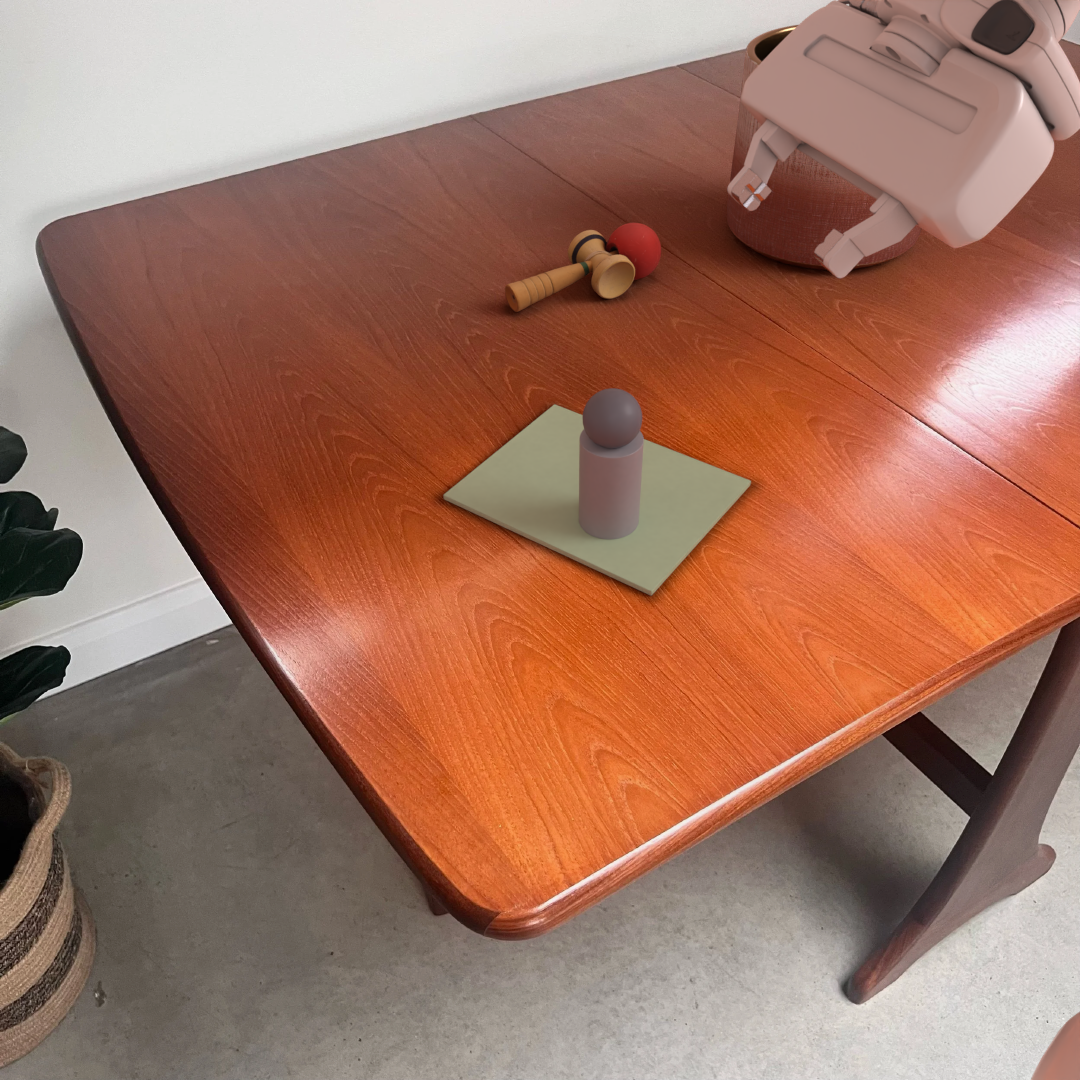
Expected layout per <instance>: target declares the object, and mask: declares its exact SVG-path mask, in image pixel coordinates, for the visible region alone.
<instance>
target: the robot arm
mask: <svg viewBox="0 0 1080 1080" xmlns="http://www.w3.org/2000/svg"><path fill="white" fill-rule="evenodd" d="M1079 12H1080V0H832V1H830V2H829V3H827V4H826V5H825V6H823V7H821V8H819V9H816V10H815V11H813V13H810V14H809V15H808V16H807V17H806V18H805V19H803V20H802V21H801V22H800V23H799V24H797V25H798V26H797V27H796V28H795V29H794V30H793V31H792V32H791V33H790V34H789V35H788V36H787V37H786V38H785V39H784V40H783V41H782V42H781V43H780V44H779V45H778V46H777V47H776V48H775V49H774V50H773V51H772V52H771V53H770V54H769V55H768V56H767V57H766V58H765V59H764V60H763V61H762V62H761V64H760V65H759V66H758V67H757V68H756V69H755V70H754V71H753V72H752V74H751V75H750V76H749V77H748V79H747V80H746V82H745V85H744V88H743V92H742V96H741V95H740V96H741V101H742V103H743V104H744V106H745V107H746V108H747V109H748V110H749V112H750V113H751V114H752V115H753V116H754V118H755V119H756V120H757V121H758V122H759V123H760V124H761V125H762V126H761V127H760V128H759V129H758V130H757V132H756V133H755V134H754V135H753V138H752V141H751V144H750V147H749V151H748V154H747V157H746V160H745V163H744V165H745V166H744V167H743V168H742V169H741V171H740V172H739V173H738V174H737V175H736V176H735V178H734V179H733V180H732V181H731V182H730V181H729V183H728V186H727V189H726V191H727V193H729V194H730V195H731V196H732V197H733V198H734V199H735V200H736V201H737V202H738V203H739V204H740V205H742V206H743V207H744V208H746V209H747V210H749V211H754V210H756V209H757V208H758V207H759V205H760V202H761V201H763V200H765V199H766V197H767V196H768V195H769V194H770V193H771V192H772V191H771V189H770V188H769V187H768V186H767V185H766V184H767V182H768V180H769V178H770V175H771V173H772V171H773V169H774V166H775V164H776V162H777V160H778V159H779V160H780V161H782V162H784V161H785V160H786V159H787V158H788V157H789V156H790V154H791V153H792V152H793V151H794V150H795V149H797V150H799V151H800V152H802V153H804V154H805V155H807V156H808V157H810V158H812V159H813V160H815V161H816V162H818V163H819V164H821V165H823V166H824V167H826V168H827V169H829V170H830V171H832V172H834V173H835V174H837V175H838V176H840V177H841V178H843V179H845V180H846V181H848V182H849V183H851V184H853V185H854V186H856V187H857V188H859V189H860V190H862V191H864V192H865V193H867V194H868V195H870V196H871V197H873V198H875V199H876V202H875V203H874V204H873V205H872V206H871V207H870V211H871V212H872V214H873V216H871V217H870V218H868V219H866V220H864V221H863V222H861V223H859V224H858V225H856V226H854V227H853V228H851V229H849V230H848V231H846V232H844V233H843V234H844V235H843V234H842V233H840V232H839V231H837V230H836V229H833V230H832V231H831V232H830V233H829V234H828V235H827V236H826V237H825V240H824V242H823V243H821V244H819V245H818V246H817V248H816V249H815V251H814V257H815V258H816V260H817V261H818V262H819V263H820V264H821V265H822V266H823V267H824V268H826V269H827V271H828V273H831V274H832V275H833V276H834V277H836V278H837V279H843V278H845V277H846V276H848V274H849V273H851V271H852V270H854V269H853V268H854V267H855V266H856V264H857V263H858V262H859V261H860V260H861V259H862V258H863V257H864V256H866V257H867V256H869V255H871V254H873V253H875V252H878V251H880V250H882V249H884V248H887V247H889V246H891V245H893V244H895V243H898V242H900V241H901V240H902V239H903V238H904V237H905V236H906V235H907V234H908V233H909V232H910V231H911V230H912V229H913V228H914V226H915V225H917V226H919V227H920V228H922V229H921V230H923V231H925V232H926V233H928V234H930V235H931V236H933V237H935V239H937V240H939V241H941V242H942V243H944V244H945V245H947V246H949V247H950V248H953V249H958V248H961V247H965V246H967V245H971V244H972V243H975V242H978V241H980V240H982V239H983V238H985V237H986V236H987V235H988V234H989V233H990V232H991V231H993V229H995V228H996V227H997V226H998V225H999V224H1000V222H1001V221H1003V219H1004V218H1005V217H1006V216H1008V214H1009V213H1010V212H1011V211H1012V210H1013V209H1014V208H1015V206H1017V204H1018V203H1019V202H1020V201H1021V200H1022V199H1023V198H1024V196H1025V195H1027V193H1028V192H1029V191H1030V189H1031V188H1032V187H1033V186H1034V185H1035V184H1036V182H1037V181H1038V180H1039V179H1040V177H1041V176H1042V175H1043V173H1044V172H1045V171H1046V170H1047V168H1048V166H1049V164H1050V162H1051V160H1052V158H1053V155H1054V152H1055V141H1065V140H1067V139H1069V138H1071V137H1072V136H1074V135H1075V134H1076V133H1077V132H1078V131H1080V79H1079V77H1078V76H1077V73H1076V71H1075V69H1074V68H1073V66H1072V63H1071V62H1070V59H1069V58H1068V56H1067V55H1066V53H1065V51H1064V49H1063V48H1062V47H1061V44H1060V43H1059V42H1060V41H1061V40H1062V39H1063V38H1064V37H1065V35H1066V34H1067V33H1068V32H1069V30H1070V29H1071V26H1072V25H1073V23H1074V22H1075V20H1076V18H1077V17H1078V14H1079ZM1030 1080H1080V1011H1079V1012H1077V1013H1076V1014H1074V1015H1073V1016H1071V1017H1070V1018H1069V1019H1068V1020H1067V1021H1066V1022H1065V1023H1064V1024H1063V1025H1062V1026H1061V1027H1060V1028H1059V1030H1058V1031H1057V1032H1056V1034H1055V1036H1054V1037H1053V1039H1052V1041H1051V1042H1050V1044H1049V1045H1048V1047H1047V1049H1046V1050H1045V1052H1044V1053H1043V1055H1042V1056H1041V1058H1040V1060H1039V1062H1038V1063H1037V1065H1036V1068H1035V1069H1034V1071H1033V1073H1032V1076H1031V1078H1030Z"/></svg>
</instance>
